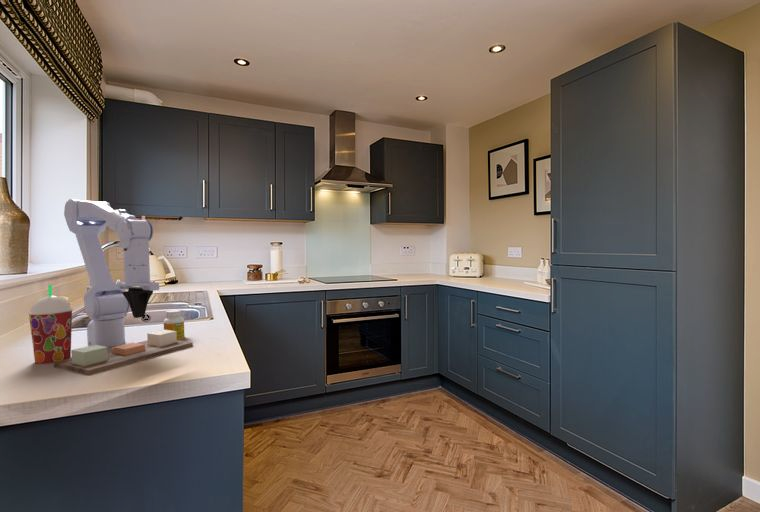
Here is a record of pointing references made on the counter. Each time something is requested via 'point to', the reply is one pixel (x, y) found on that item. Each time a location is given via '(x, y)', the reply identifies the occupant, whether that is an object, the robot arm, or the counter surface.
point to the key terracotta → (128, 348)
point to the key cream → (162, 338)
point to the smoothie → (51, 329)
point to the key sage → (89, 355)
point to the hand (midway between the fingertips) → (139, 317)
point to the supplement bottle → (174, 323)
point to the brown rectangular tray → (122, 358)
